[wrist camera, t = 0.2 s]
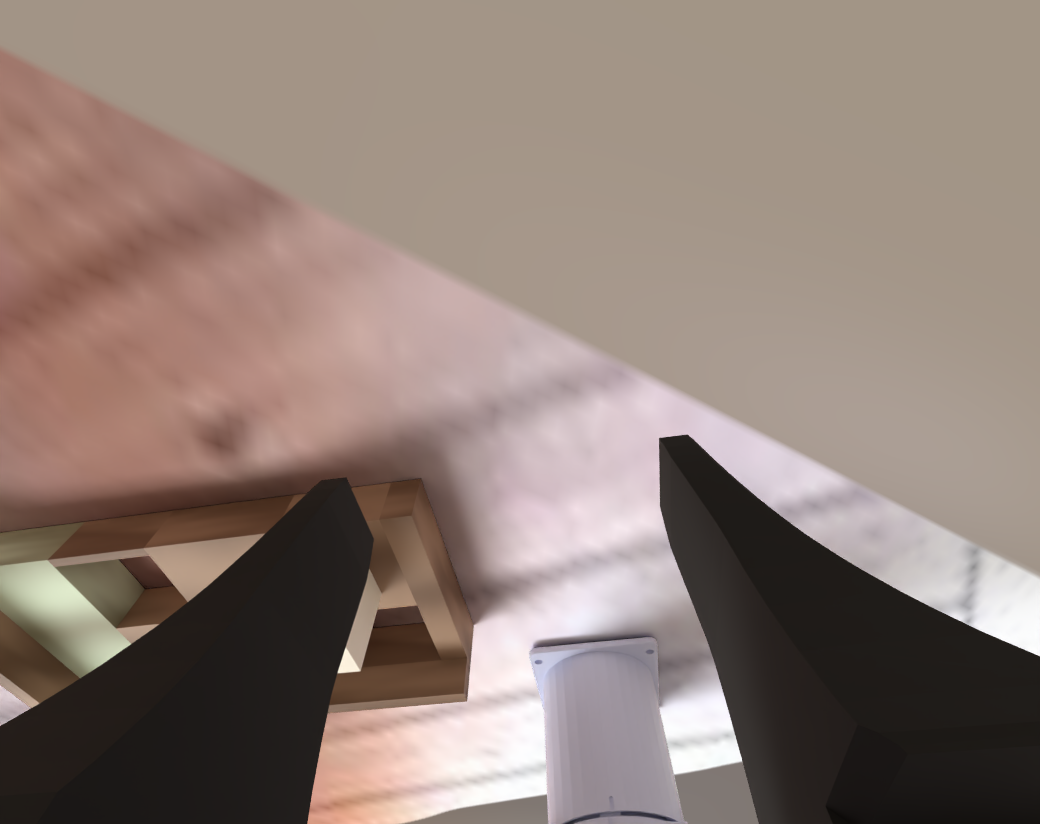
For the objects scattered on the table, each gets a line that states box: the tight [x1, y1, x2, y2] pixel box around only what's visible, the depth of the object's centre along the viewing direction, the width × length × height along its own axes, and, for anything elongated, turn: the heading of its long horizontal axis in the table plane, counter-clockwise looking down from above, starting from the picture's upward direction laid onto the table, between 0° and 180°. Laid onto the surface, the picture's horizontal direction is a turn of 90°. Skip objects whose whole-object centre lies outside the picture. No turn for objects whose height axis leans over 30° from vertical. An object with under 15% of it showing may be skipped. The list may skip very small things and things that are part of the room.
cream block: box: [338, 569, 382, 673], centre depth 23 cm, size 4×4×4 cm
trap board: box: [0, 479, 474, 713], centre depth 27 cm, size 12×24×4 cm, turn 100°
